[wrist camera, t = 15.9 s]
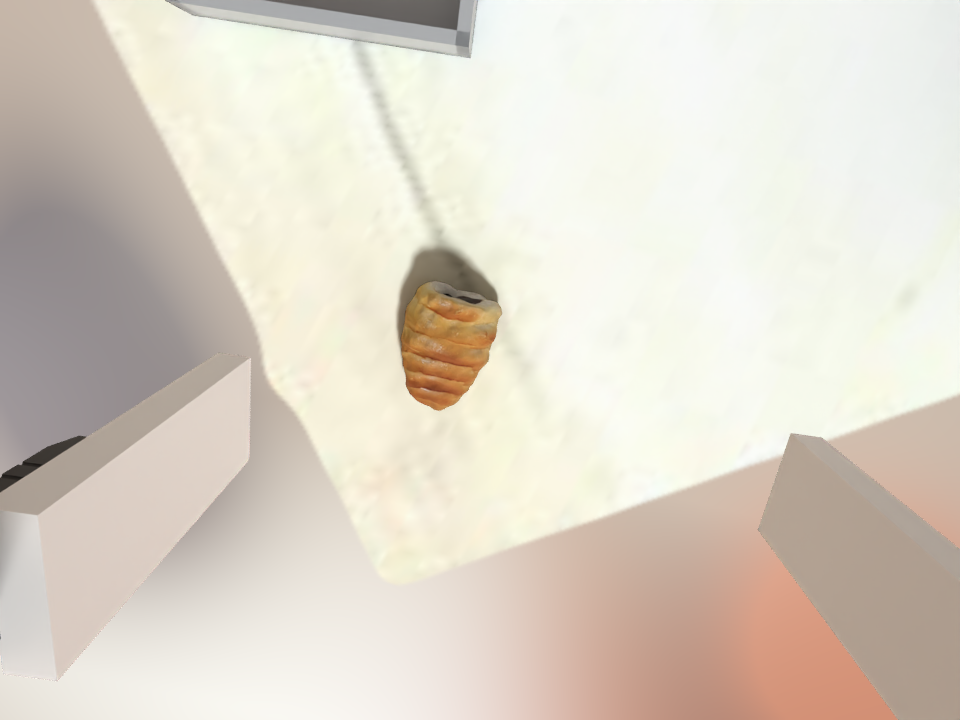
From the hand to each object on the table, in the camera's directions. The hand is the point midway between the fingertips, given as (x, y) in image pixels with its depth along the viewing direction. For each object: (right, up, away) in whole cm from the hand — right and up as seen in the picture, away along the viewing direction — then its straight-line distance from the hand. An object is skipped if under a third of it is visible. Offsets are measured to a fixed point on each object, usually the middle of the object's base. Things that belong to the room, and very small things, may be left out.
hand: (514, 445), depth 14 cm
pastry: (-3, +4, +29) cm, 30 cm away
